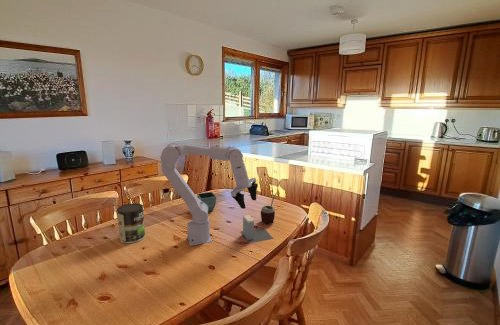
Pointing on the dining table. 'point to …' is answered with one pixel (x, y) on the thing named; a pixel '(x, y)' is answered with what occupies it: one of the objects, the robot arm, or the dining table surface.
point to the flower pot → (208, 199)
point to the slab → (248, 227)
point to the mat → (259, 235)
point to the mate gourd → (268, 213)
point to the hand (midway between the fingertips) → (248, 204)
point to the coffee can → (131, 223)
